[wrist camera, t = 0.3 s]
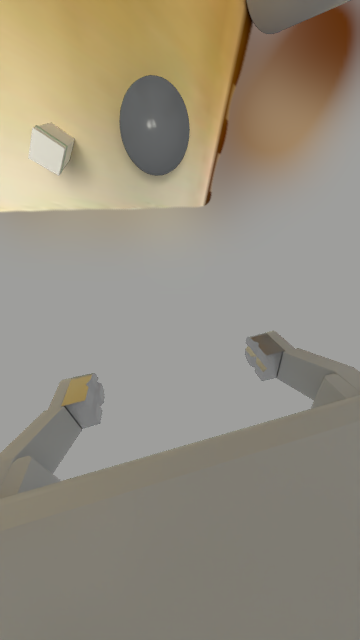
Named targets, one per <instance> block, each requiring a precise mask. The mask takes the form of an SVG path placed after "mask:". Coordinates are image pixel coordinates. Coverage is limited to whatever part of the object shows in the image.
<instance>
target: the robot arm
mask: <svg viewBox="0 0 360 640" xmlns="http://www.w3.org/2000/svg"><path fill="white" fill-rule="evenodd" d="M246 344H247V345H248V347H247V348H246V349H245V355H246V359H247V361H248V363H249V364H250V365H251V366H252V367H255V372H256V374H257V375H258V377H259V378H260V379H261V380H262V381H264V380H269V379H273V378H278V379H279V380H281V381H283V382H284V383H286V384H287V385H289V386H291V387H292V388H294V389H296V390H297V391H299V392H301V393H302V394H304V395H306V396H307V397H309V398H311V399H313V400H314V402H313V404H312V407H311V409H309V410H306V411H302V412H299V413H295V414H292V415H288V416H285V417H281V418H278V419H274V420H271V421H268V422H264V423H261V424H257V425H254V426H250V427H247V428H243V429H240V430H237V431H233V432H230V433H226V434H222V435H219V436H216V437H212V438H209V439H205V440H202V441H199V442H195V443H192V444H188V445H184V446H181V447H178V448H174V449H171V450H168V451H164V452H161V453H157V454H154V455H150V456H146V457H143V458H140V459H136V460H133V461H130V462H126V463H123V464H119V465H115V466H112V467H109V468H105V469H102V470H98V471H95V472H91V473H88V474H84V475H81V476H77V477H74V478H70V479H67V480H63V481H60V479H58V478H57V477H56V476H54V475H53V472H54V471H55V470H56V468H57V467H58V465H59V463H60V462H61V460H62V459H63V458H64V456H65V455H66V453H67V451H68V450H69V448H70V447H71V446H72V444H73V443H74V441H75V440H76V438H77V437H78V435H79V434H80V432H81V431H82V429H83V428H86V427H90V426H93V425H97V424H100V420H101V415H102V410H101V407H100V406H101V405H102V404H103V403H104V390H103V386H102V385H101V384H100V383H98V382H97V380H98V377H97V376H96V374H95V373H92V374H87V375H82V376H78V377H73V378H69V379H65V380H62V381H61V382H60V383H59V386H58V388H57V390H56V392H55V395H54V397H53V399H52V402H51V404H50V406H49V408H48V410H47V411H44V412H43V413H42V414H41V415H40V416H39V417H38V418H37V419H35V420H34V421H33V422H32V423H31V424H30V425H29V426H28V427H27V428H26V429H25V430H24V431H23V432H22V433H21V434H20V435H19V436H18V437H17V438H16V439H15V440H14V441H13V442H12V443H10V444H9V445H8V446H7V447H6V448H5V449H4V450H3V451H2V452H1V453H0V640H360V372H359V371H358V370H356V369H355V368H354V367H351V366H348V365H345V364H342V363H339V362H337V361H334V360H331V359H328V358H325V357H322V356H319V355H316V354H313V353H310V352H307V351H305V350H302V349H299V348H297V349H295V348H294V347H293V346H292V345H290V344H289V343H288V342H287V341H286V340H285V339H284V338H282V337H281V336H280V335H279V334H278V333H277V332H275V331H271V332H267V333H264V334H259V335H255V336H251V337H248V338H247V339H246Z"/></svg>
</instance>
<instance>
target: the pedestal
mask: <svg viewBox="0 0 360 640" xmlns="http://www.w3.org/2000/svg"><path fill="white" fill-rule="evenodd" d="M120 132H121V137H122V141H123V144H124V147H125V149H126V151H127V153H128V155H129V157H130V158H131V160H132V161H133V162H134V164H135V165H136V166H137V167H138V168H140V169H141V170H142V171H144V172H146V173H148V174H151V175H164V174H167V173H169V172H171V171H172V170H174V169H175V168H176V167H177V166H178V165H179V163H180V162H181V160H182V159H183V157H184V155H185V152H186V149H187V146H188V141H189V119H188V113H187V110H186V106H185V104H184V101H183V99H182V97H181V95H180V94H179V92H178V91H177V89H176V88H175V87H174V86H173V85H172V84H171V83H170V82H168V81H167V80H166V79H164V78H162V77H159V76H153V75H149V76H144V77H142V78H140V79H138V80H137V81H135V82H134V83H133V84H132V85H131V86H130V88H129V89H128V90H127V92H126V94H125V96H124V99H123V101H122V105H121V110H120Z"/></svg>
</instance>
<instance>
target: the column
mask: <svg viewBox="0 0 360 640" xmlns="http://www.w3.org/2000/svg"><path fill="white" fill-rule="evenodd" d="M74 140H75V139H74V138H73V137H71V136H70V135H69V134H67V133H66V132H64V131H63V130H62V129H60V128H59V127H57V126H56V125H55V124H53V123H52V122H51V123H47V124H43V125H40V126H38V125H37V126H35V127H33V128H32V135H31V143H30V150H29V159H31V160H32V161H34V162H36V163H38V164H39V165H41V166H43V167H44V168H46V169H48V170H50V171H51V172H53V173H55V174H56V175H58V176H59V175H60V174H61V173H62V170H63V169H64V168H65V166H66V165H67V163H68V162H69V161H70V157H71V153H72V148H73V144H74Z"/></svg>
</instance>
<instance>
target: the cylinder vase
mask: <svg viewBox="0 0 360 640" xmlns="http://www.w3.org/2000/svg"><path fill="white" fill-rule="evenodd" d="M348 1H350V0H247V6H248V10H249V13H250V16H251V19H252V21H253V23H254V24H255V26H256V27H257V28H258V29H259V30H260V31H262V32H263V33H266V34H274V33H277V32H280V31H282V30H284V29H287V28H289V27H291V26H293V25H296V24H298V23H300V22H302V21H305V20H307V19H309V18H312V17H314V16H316V15H318V14H321V13H323V12H325V11H328V10H330V9H332V8H335V7H337V6H339V5H341V4H344V3H346V2H348Z"/></svg>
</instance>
